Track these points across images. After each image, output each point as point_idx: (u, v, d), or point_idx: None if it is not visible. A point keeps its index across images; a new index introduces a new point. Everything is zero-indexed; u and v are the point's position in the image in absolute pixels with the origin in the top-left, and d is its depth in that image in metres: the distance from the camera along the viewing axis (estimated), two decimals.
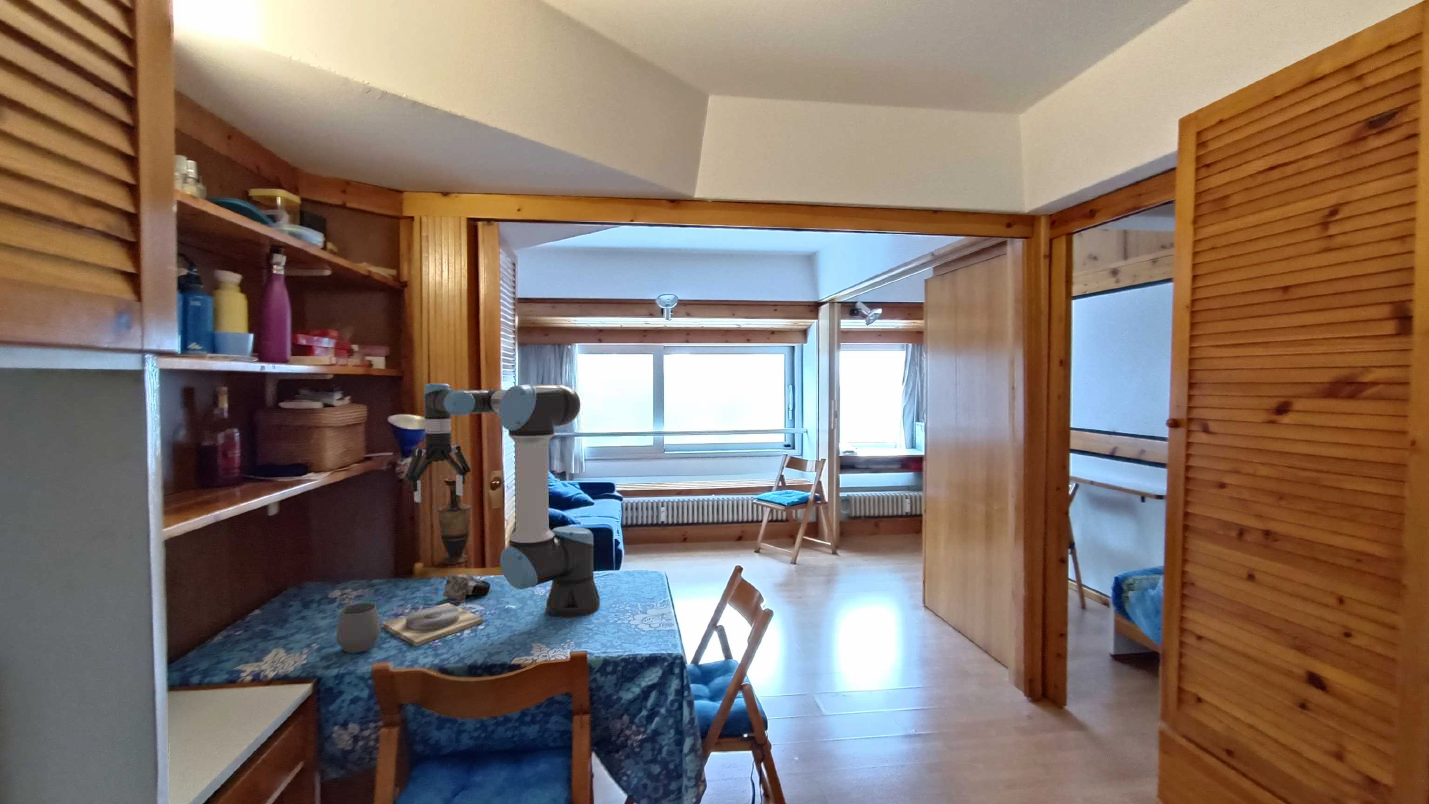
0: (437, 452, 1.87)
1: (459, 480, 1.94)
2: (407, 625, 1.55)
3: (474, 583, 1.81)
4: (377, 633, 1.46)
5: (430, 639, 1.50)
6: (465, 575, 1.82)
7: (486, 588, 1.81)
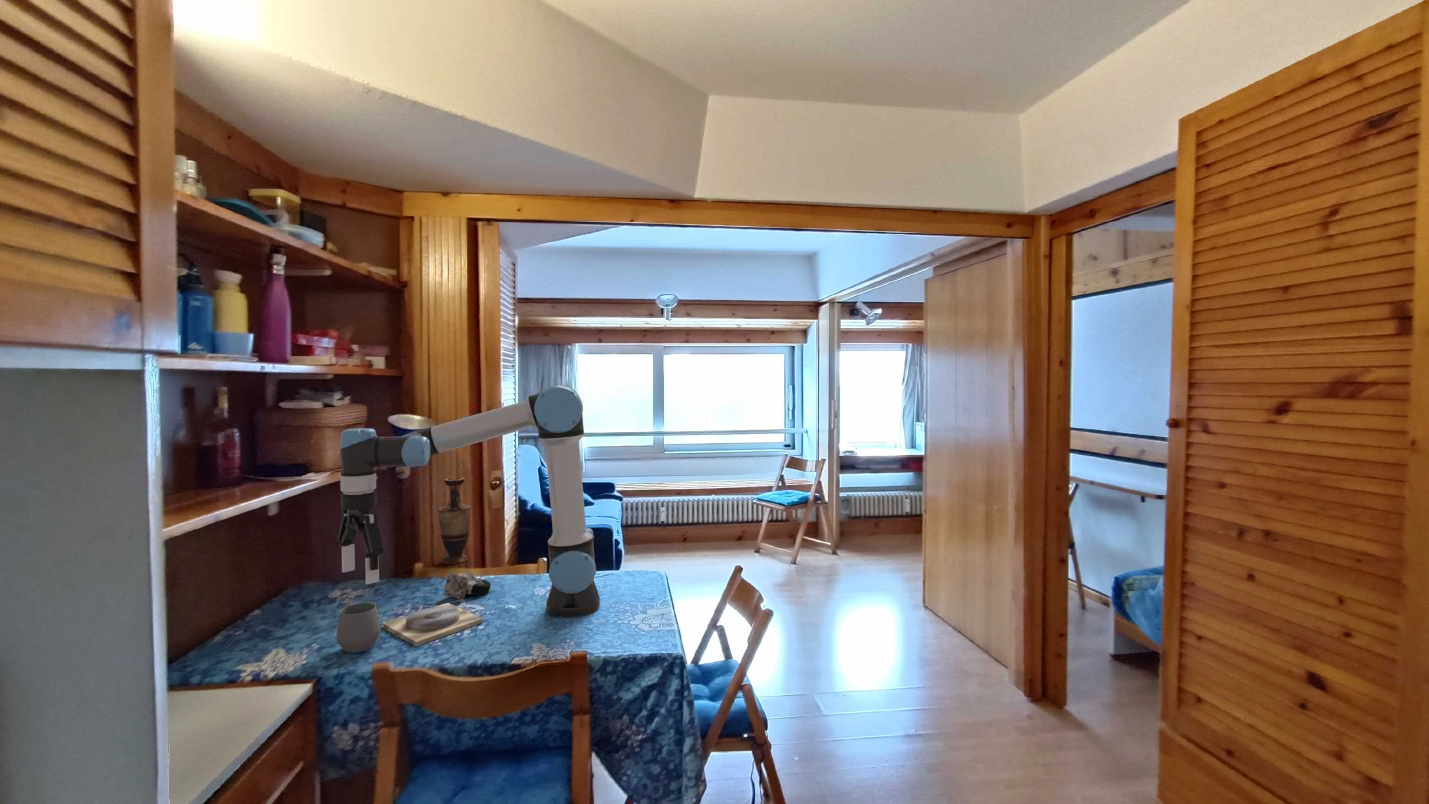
0: (348, 517, 1.45)
1: None
2: (407, 625, 1.55)
3: (474, 582, 1.82)
4: (377, 633, 1.46)
5: (430, 639, 1.50)
6: (466, 574, 1.83)
7: (486, 588, 1.82)
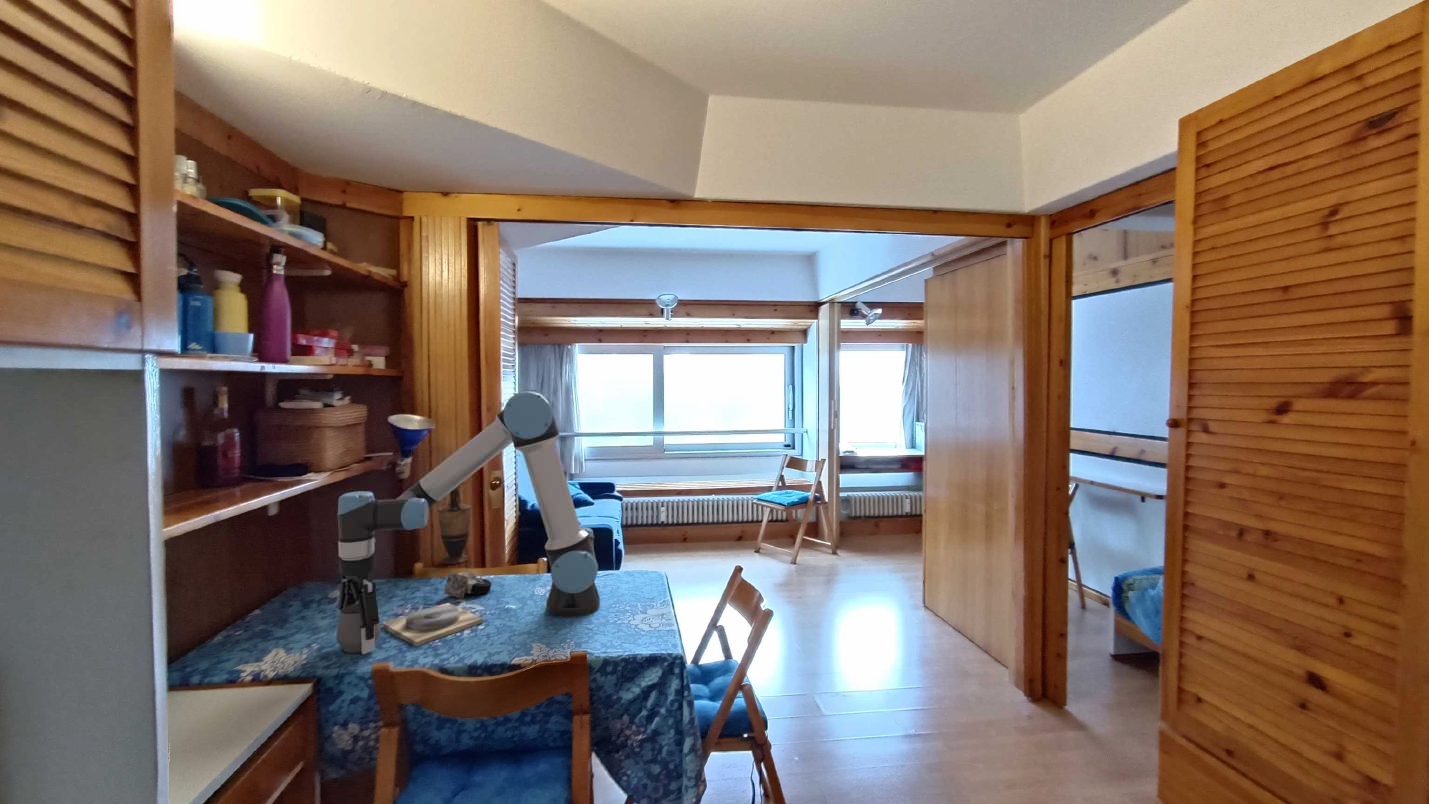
0: (346, 582, 1.45)
1: None
2: (407, 625, 1.55)
3: (474, 582, 1.82)
4: (377, 633, 1.46)
5: (430, 639, 1.50)
6: (467, 573, 1.83)
7: (486, 587, 1.82)
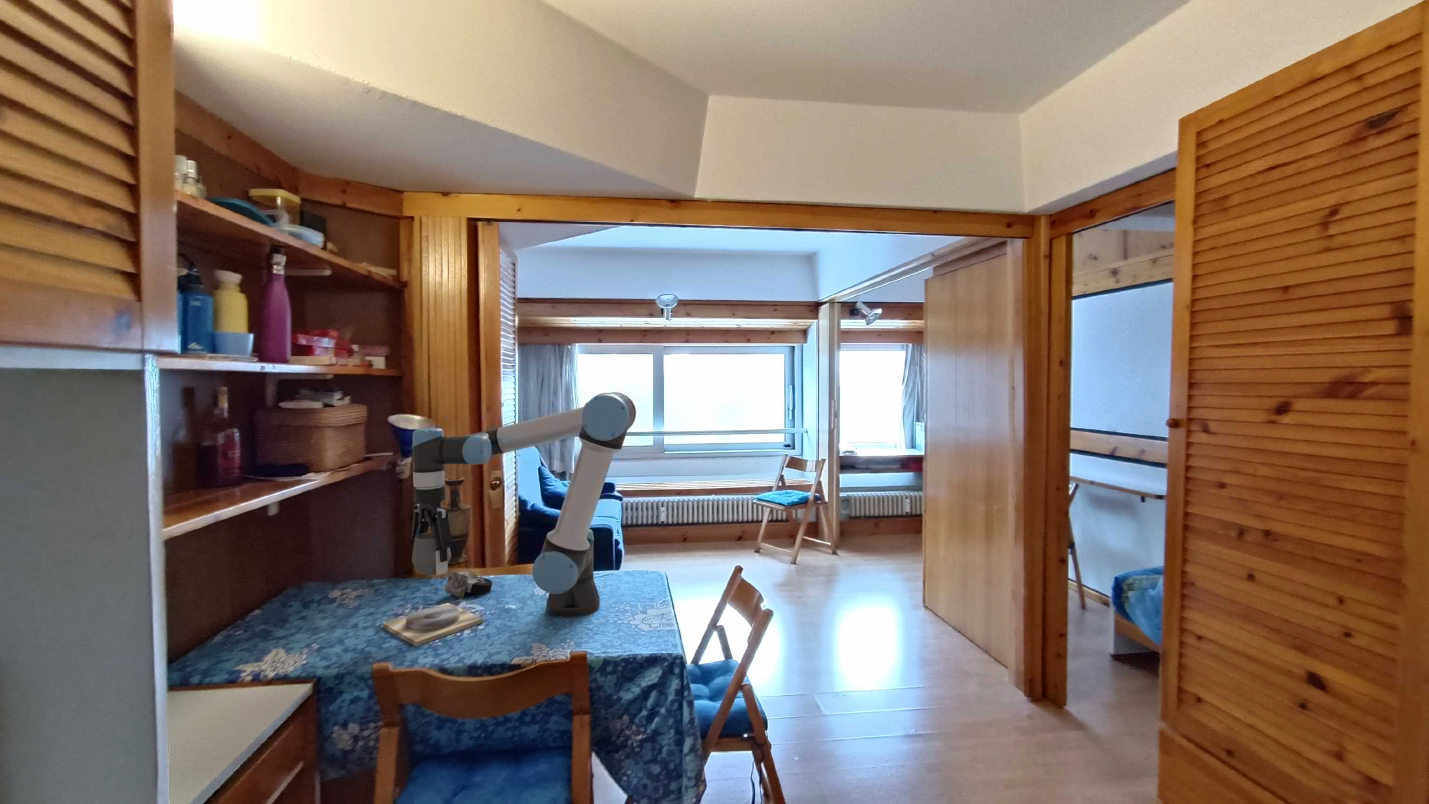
0: (420, 510, 1.57)
1: None
2: (407, 625, 1.55)
3: (475, 581, 1.83)
4: (448, 558, 1.58)
5: (430, 639, 1.50)
6: (468, 572, 1.84)
7: (486, 587, 1.82)
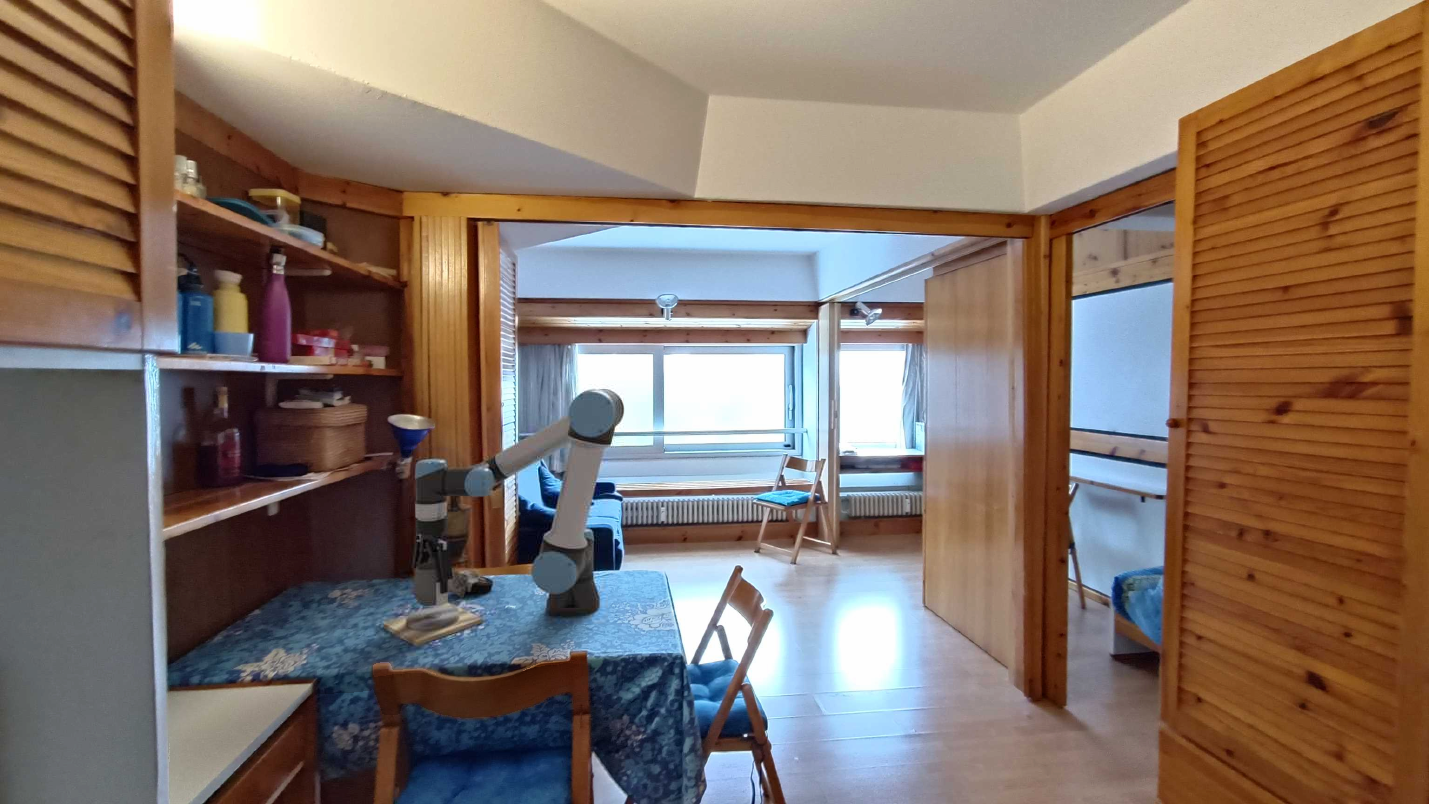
0: (422, 541, 1.58)
1: None
2: (407, 625, 1.55)
3: (475, 580, 1.83)
4: (449, 588, 1.59)
5: (430, 639, 1.50)
6: (469, 572, 1.85)
7: (486, 586, 1.83)
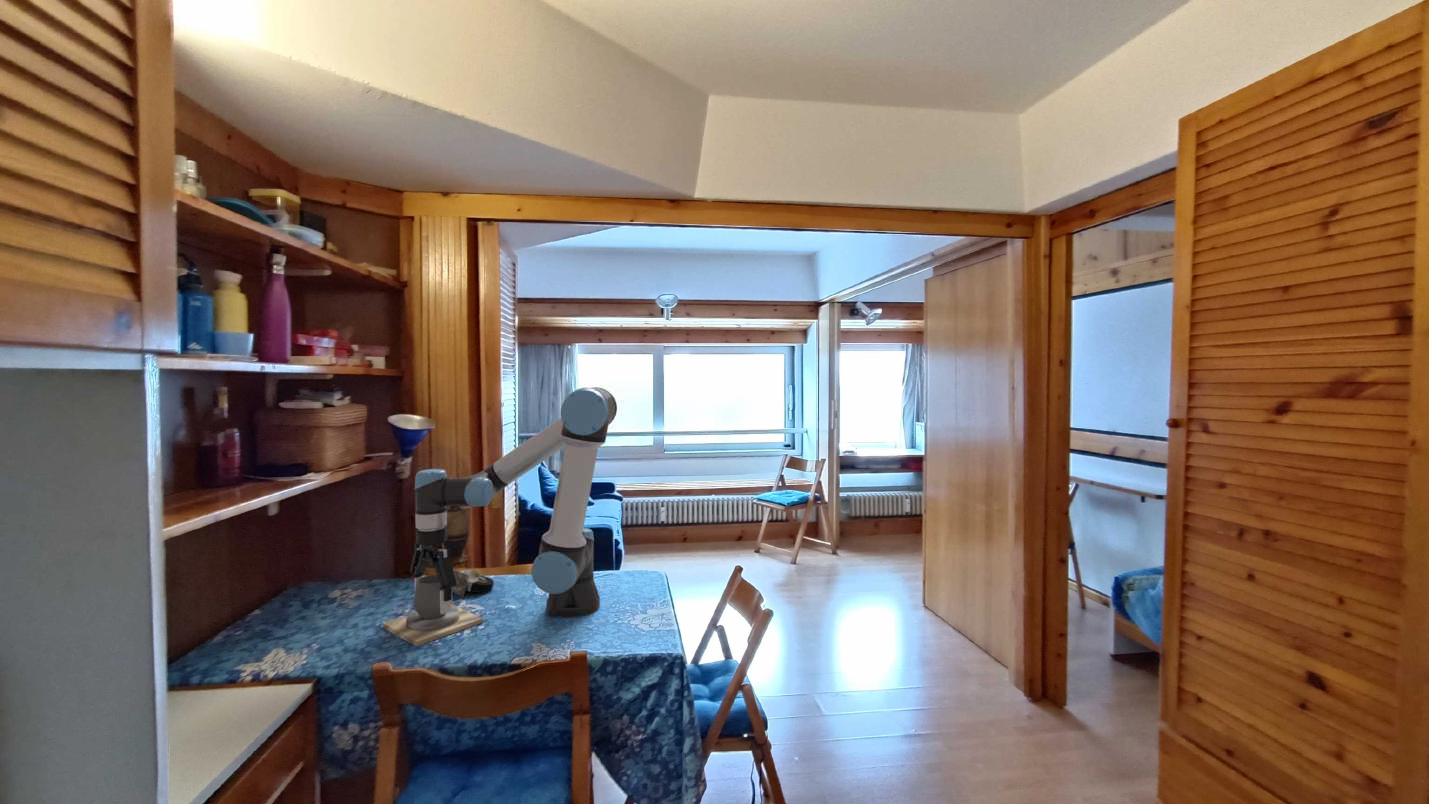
0: (422, 551, 1.58)
1: None
2: (407, 625, 1.55)
3: (476, 580, 1.84)
4: None
5: (430, 639, 1.50)
6: (469, 571, 1.85)
7: (486, 586, 1.83)
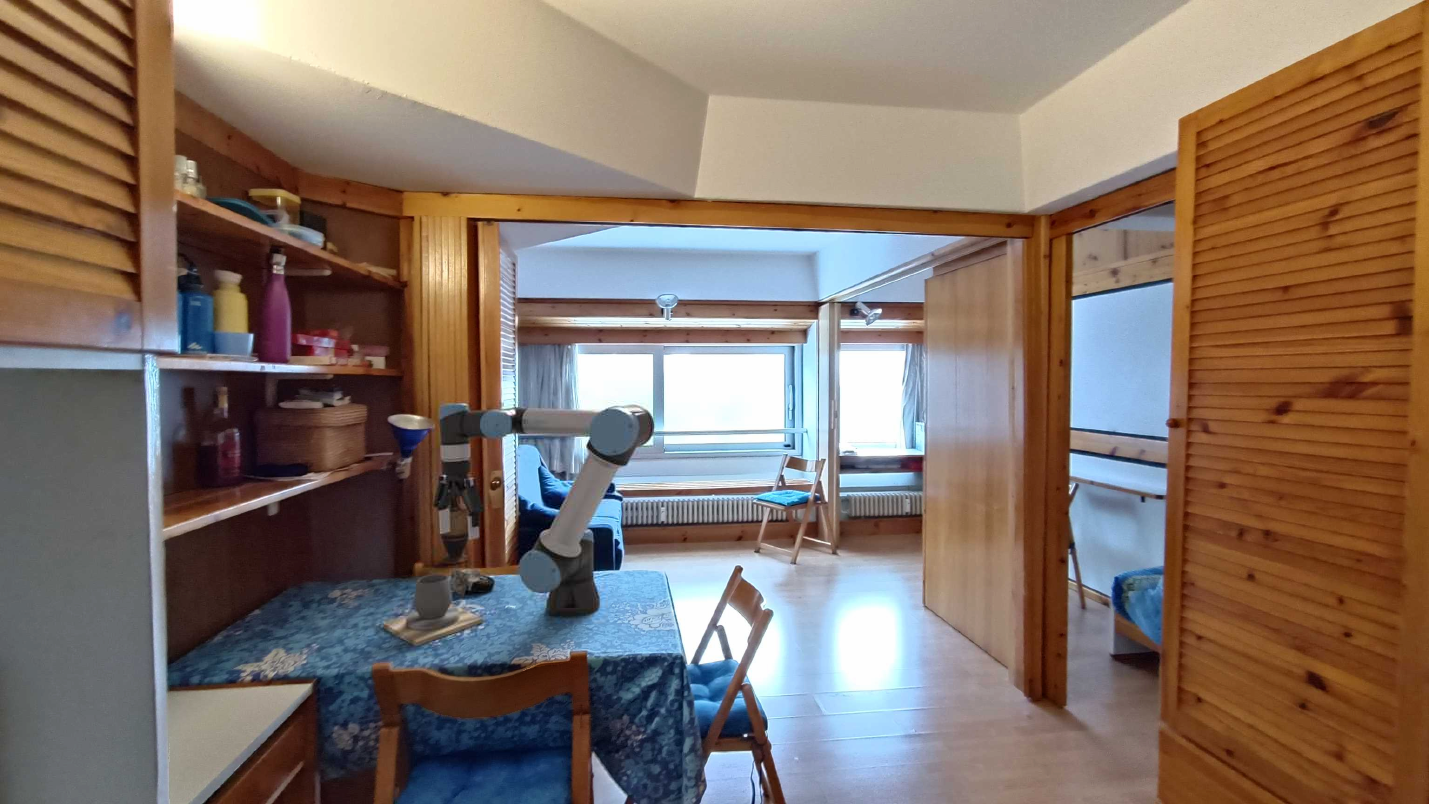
0: (447, 482, 1.63)
1: None
2: (407, 625, 1.55)
3: (477, 579, 1.84)
4: (450, 601, 1.59)
5: (430, 639, 1.50)
6: (471, 570, 1.86)
7: (486, 586, 1.83)
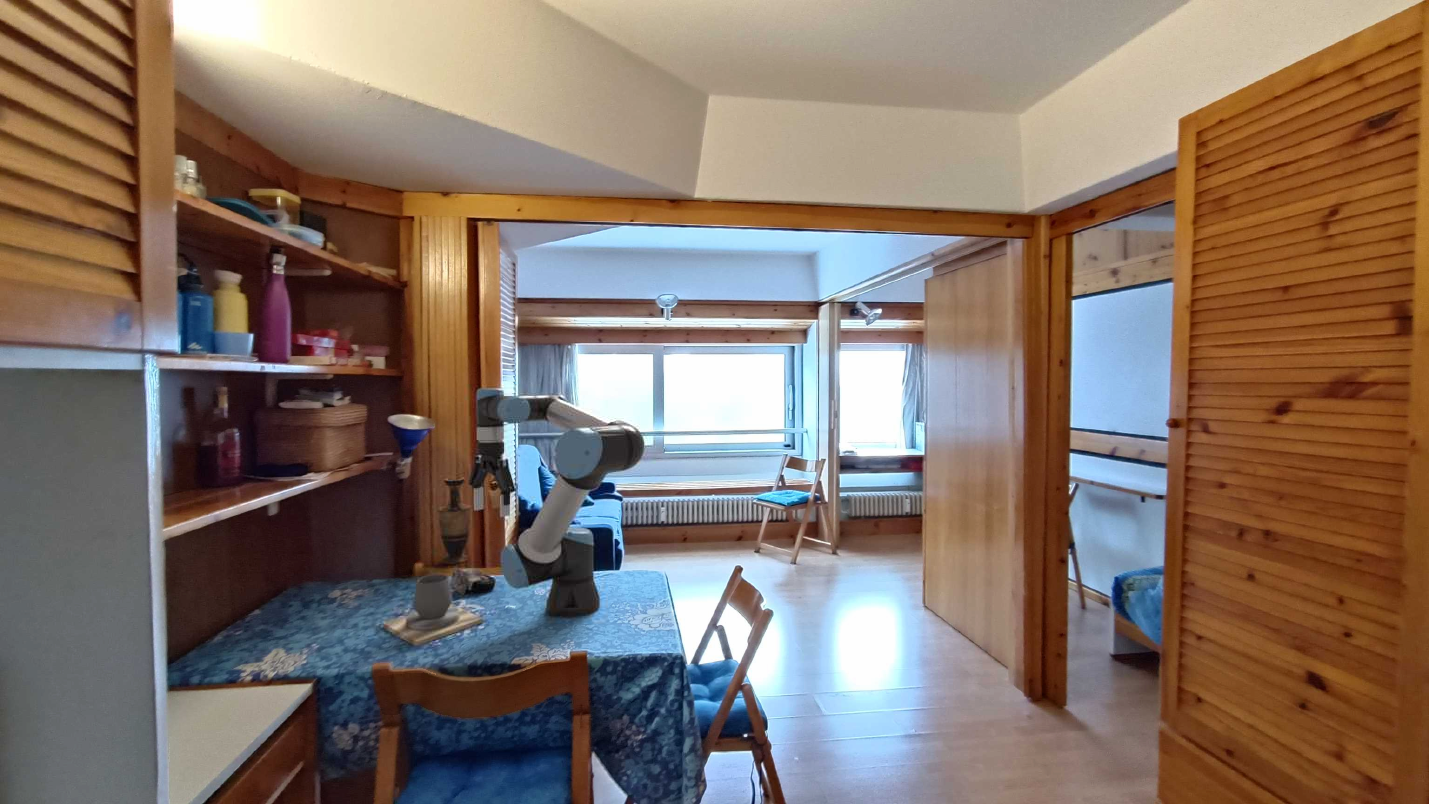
0: (482, 462, 1.73)
1: None
2: (407, 625, 1.55)
3: (477, 579, 1.85)
4: (450, 601, 1.59)
5: (430, 639, 1.50)
6: (472, 570, 1.87)
7: (486, 585, 1.84)
